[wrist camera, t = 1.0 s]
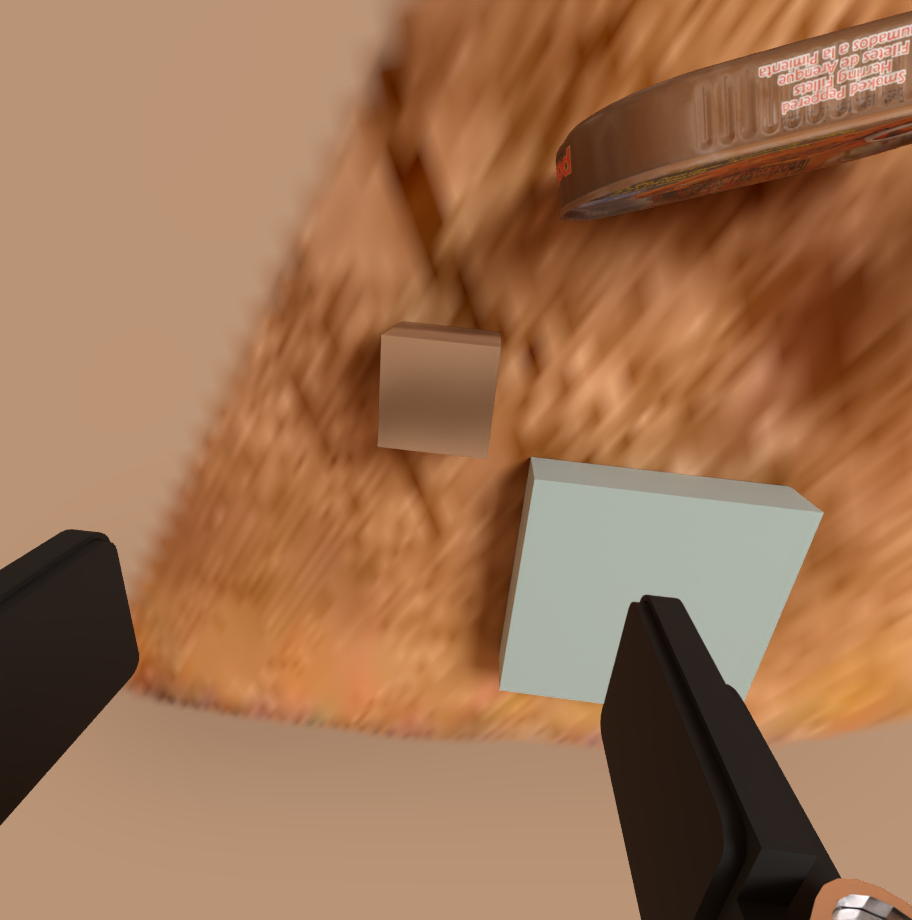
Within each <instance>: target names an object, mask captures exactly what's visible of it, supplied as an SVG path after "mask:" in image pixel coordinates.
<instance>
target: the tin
mask: <svg viewBox="0 0 912 920" xmlns="http://www.w3.org/2000/svg"><path fill="white" fill-rule="evenodd" d="M908 144H912V11H910V12H906V13H902V14H898V15H894V16H891V17H887V18H884V19H880V20H876V21H872V22H868V23H864V24H861V25H857V26H853V27H849V28H845V29H842V30H838V31H835V32H831V33H828V34H824V35H821V36H817V37H813V38H809V39H805V40H801V41H798V42H794V43H791V44H787V45H783V46H780V47H776V48H773V49H770V50H766V51H763V52H758V53H754V54H751V55H748V56H745V57H741V58H737V59H734V60H730V61H726V62H723V63H720V64H716V65H712V66H709V67H705V68H702V69H698V70H695V71H692V72H689V73H686V74H683V75H680V76H677V77H674V78H671V79H669V80H666V81H663V82H660V83H658V84H655V85H653V86H650V87H648V88H645V89H643V90H640V91H638V92H635V93H633V94H631V95H629V96H627V97H625V98H623V99H621V100H619V101H616V102H614V103H612V104H610V105H608V106H606V107H605V108H603V109H601V110H600V111H598V112H596V113H595V114H593V115H591V116H590V117H588V118H587V119H585V120H584V121H582V122H581V123H580V124H578V125H577V126H576V127H575V128H574V129H573V130H572V131H571V132H570V133H569V135H568V136H567V138H566V140H565V141H564V143H563V144H562V145H561V147H560V148H559V150H558V152H557V155H556V170H557V177H558V184H559V191H560V200H561V210H560V214H559V216H560V218H561V219H562V220H573V221H577V220H594V219H600V218H606V217H612V216H617V215H621V214H625V213H631V212H635V211H640V210H645V209H649V208H654V207H658V206H662V205H667V204H671V203H676V202H680V201H684V200H688V199H693V198H697V197H701V196H705V195H710V194H715V193H719V192H723V191H727V190H732V189H737V188H741V187H745V186H749V185H754V184H758V183H763V182H767V181H772V180H776V179H780V178H785V177H789V176H793V175H797V174H802V173H806V172H810V171H815V170H819V169H823V168H826V167H830V166H834V165H837V164H841V163H845V162H849V161H853V160H857V159H860V158H864V157H868V156H871V155H875V154H878V153H882V152H885V151H888V150H892V149H896V148H899V147H901V146H905V145H908Z"/></svg>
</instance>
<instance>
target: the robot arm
mask: <svg viewBox="0 0 912 920" xmlns="http://www.w3.org/2000/svg"><path fill="white" fill-rule="evenodd" d="M138 662H139V652H138V647H137V642H136V638H135V633H134V628H133V624H132V619H131V614H130V609H129V605H128V600H127V595H126V590H125V586H124V581H123V576H122V572H121V567H120V562H119V557H118V553H117V549H116V546H115V545H114V544H113V543H111V542H110V540H109V538H108V537H107V536H106V535H105V534H103V533H99V532H90V531H82V530H72V529H71V530H65V531H63V532H61V533H59V534H57V535H56V536H54V537H52V538H51V539H49V540H48V541H46V542H44V543H43V544H41V545H40V546H38V547H36V548H35V549H33V550H31V551H30V552H28V553H27V554H25V555H24V556H22V557H21V558H19V559H17V560H15V561H14V562H12V563H11V564H9V565H7V566H6V567H4V568H3V569H1V570H0V825H1V824H2V823H3V822H4V821H5V820H6V818H7V817H8V816H9V815H10V814H11V813H12V812H13V811H14V809H15V808H16V807H17V806H18V805H19V804H20V803H21V801H22V800H23V799H24V798H25V797H26V796H27V795H28V794H29V792H30V791H31V790H32V789H33V788H34V786H36V784H37V783H38V782H39V781H40V780H41V779H42V778H43V776H44V775H45V774H46V773H47V772H48V771H49V770H50V769H51V767H52V766H53V765H54V764H55V763H56V762H57V761H58V759H59V758H60V757H61V756H62V755H63V754H64V753H65V752H66V750H67V749H68V748H69V747H70V746H71V745H72V744H73V742H74V741H75V740H76V739H77V738H78V736H79V735H81V733H82V732H83V731H84V730H85V729H86V728H87V726H88V725H89V724H90V723H91V722H92V721H93V720H94V719H95V718H96V716H97V715H98V714H99V713H100V712H101V711H102V710H103V708H104V707H105V706H106V705H107V704H108V703H109V702H110V700H111V699H112V698H113V697H114V696H115V695H116V694H117V693H118V691H119V690H120V689H121V688H122V687H123V686H124V685H125V683H126V682H127V681H128V680H129V679H130V678H131V677H132V675H133V674H134V672H135V670H136V668H137V665H138ZM601 735H602V740H603V745H604V750H605V754H606V759H607V763H608V768H609V773H610V777H611V782H612V787H613V791H614V796H615V800H616V805H617V810H618V814H619V819H620V824H621V828H622V833H623V837H624V842H625V847H626V851H627V856H628V860H629V865H630V870H631V875H632V879H633V884H634V889H635V893H636V898H637V902H638V907H639V912H640V916H641V920H912V906H911V905H910V904H908V903H907V902H905V901H904V900H902V899H900V898H898V897H897V896H895V895H893V894H892V893H890V892H888V891H886V890H885V889H883V888H881V887H878V886H875V885H872V884H869V883H867V882H864V881H861V880H858V879H842V878H841V877H840V875H839V873H838V871H837V869H836V868H835V866H834V864H833V862H832V860H831V859H830V857H829V855H828V853H827V851H826V850H825V848H824V846H823V844H822V843H821V841H820V839H819V837H818V835H817V833H816V832H815V830H814V828H813V826H812V824H811V823H810V821H809V819H808V817H807V815H806V813H805V812H804V810H803V808H802V806H801V805H800V803H799V801H798V799H797V797H796V795H795V794H794V792H793V790H792V788H791V787H790V785H789V783H788V781H787V779H786V777H785V776H784V774H783V772H782V770H781V768H780V767H779V765H778V763H777V761H776V760H775V758H774V756H773V754H772V752H771V750H770V749H769V747H768V745H767V743H766V741H765V739H764V738H763V736H762V734H761V732H760V730H759V729H758V727H757V725H756V723H755V721H754V720H753V718H752V716H751V714H750V712H749V711H748V709H747V707H746V705H745V703H744V702H743V700H742V698H741V697H740V695H739V694H738V692H737V691H736V690H735V689H734V688H733V687H732V686H730V685H729V684H726V683H725V681H724V679H723V678H722V676H721V674H720V672H719V670H718V668H717V666H716V664H715V663H714V661H713V659H712V657H711V655H710V653H709V651H708V650H707V648H706V646H705V644H704V642H703V640H702V638H701V636H700V635H699V633H698V631H697V629H696V627H695V625H694V623H693V622H692V620H691V618H690V616H689V614H688V612H687V610H686V608H685V607H684V605H683V603H682V602H681V600H680V599H678V598H672V597H663V596H654V595H643V596H642V598H641V600H640V602H631V604H630V606H629V608H628V612H627V616H626V620H625V624H624V628H623V631H622V635H621V639H620V643H619V647H618V651H617V655H616V658H615V662H614V666H613V670H612V674H611V678H610V682H609V685H608V689H607V693H606V697H605V701H604V705H603V708H602V713H601Z"/></svg>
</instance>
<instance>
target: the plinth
mask: <svg viewBox="0 0 912 920" xmlns="http://www.w3.org/2000/svg"><path fill="white" fill-rule="evenodd" d="M822 516H823V512H822V511H821V510H819V509H818V508H817V507H816V506H814V505H813V504H812V503H810V502H809V501H808V500H807V499H805V498H804V497H803V496H801V495H800V494H799V493H798V492H796V491H795V490H794V489H792V488H791V487H789V486H780V485H771V484H763V483H754V482H745V481H736V480H728V479H719V478H710V477H701V476H693V475H684V474H675V473H667V472H658V471H649V470H640V469H632V468H623V467H614V466H605V465H597V464H588V463H579V462H571V461H562V460H553V459H544V458H536V457H531V459H530V466H529V472H528V478H527V484H526V490H525V497H524V503H523V509H522V515H521V522H520V528H519V534H518V540H517V546H516V553H515V559H514V565H513V571H512V577H511V584H510V590H509V596H508V602H507V609H506V615H505V621H504V627H503V633H502V640H501V646H500V652H499V690H502V691H510V692H517V693H525V694H532V695H540V696H547V697H555V698H562V699H570V700H577V701H585V702H592V703H600V704H604V701H605V697H606V693H607V689H608V685H609V682H610V678H611V674H612V670H613V666H614V662H615V658H616V655H617V651H618V647H619V643H620V639H621V635H622V631H623V628H624V624H625V620H626V616H627V612H628V608H629V606H630V604H631V602H640V600H641V598H642V596H643V595H654V596H663V597H672V598H678V599H680V600H681V602H682V603H683V605H684V607H685V608H686V610H687V612H688V614H689V616H690V618H691V620H692V622H693V623H694V625H695V627H696V629H697V631H698V633H699V635H700V636H701V638H702V640H703V642H704V644H705V646H706V648H707V650H708V651H709V653H710V655H711V657H712V659H713V661H714V663H715V664H716V666H717V668H718V670H719V672H720V674H721V676H722V678H723V679H724V681H725V683H726V684H729V685H730V686H732V687H733V688H734V689H735V690H736V691H737V692H738V694H739V695H740V697H741V698H742V700H743V702H744V700H745V698H746V696H747V693H748V691H749V688H750V686H751V684H752V681H753V679H754V677H755V674H756V672H757V670H758V667H759V665H760V662H761V660H762V658H763V655H764V653H765V651H766V648H767V646H768V643H769V641H770V639H771V636H772V634H773V632H774V629H775V627H776V625H777V622H778V620H779V617H780V615H781V613H782V610H783V608H784V606H785V603H786V601H787V599H788V596H789V594H790V591H791V589H792V587H793V584H794V582H795V580H796V577H797V575H798V573H799V570H800V568H801V565H802V563H803V561H804V558H805V556H806V554H807V551H808V549H809V546H810V544H811V542H812V539H813V537H814V535H815V532H816V530H817V528H818V525H819V523H820V520H821V518H822Z"/></svg>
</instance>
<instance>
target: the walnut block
mask: <svg viewBox="0 0 912 920" xmlns="http://www.w3.org/2000/svg"><path fill="white" fill-rule="evenodd" d="M500 352H501V333H500V332H497V331H488V330H478V329H469V328H459V327H450V326H440V325H431V324H421V323H412V322H403V321H402V322H401V323H399V324H398V325H396V326H394V327H393V328H391V329H390V330H388V331H387V332H385V333H383V334H382V335H381V360H380V389H379V418H378V447H384V448H393V449H402V450H410V451H419V452H428V453H436V454H445V455H454V456H462V457H471V458H480V459H487V456H488V448H489V440H490V432H491V424H492V416H493V408H494V400H495V392H496V384H497V376H498V368H499V360H500Z"/></svg>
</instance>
